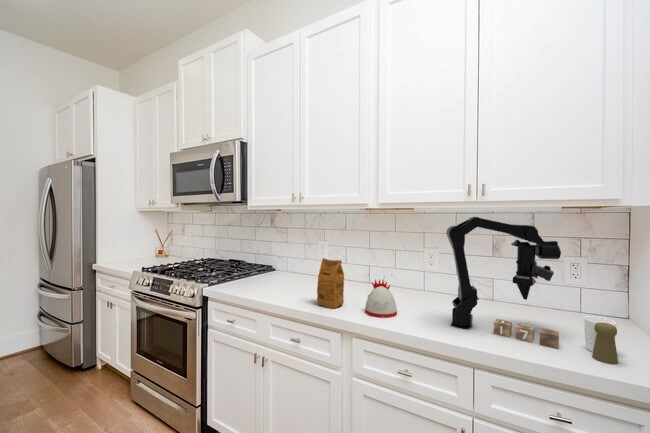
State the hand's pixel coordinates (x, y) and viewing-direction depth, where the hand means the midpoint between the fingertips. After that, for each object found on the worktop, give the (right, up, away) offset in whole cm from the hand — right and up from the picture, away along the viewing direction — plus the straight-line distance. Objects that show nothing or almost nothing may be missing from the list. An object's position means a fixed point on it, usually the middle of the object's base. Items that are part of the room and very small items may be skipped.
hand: (525, 299), depth 117 cm
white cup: (+14, -13, -16) cm, 25 cm away
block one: (-10, -12, -3) cm, 16 cm away
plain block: (0, -12, -12) cm, 17 cm away
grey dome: (-51, -12, +20) cm, 56 cm away
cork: (+10, -13, -22) cm, 27 cm away
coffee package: (-74, -11, +30) cm, 80 cm away
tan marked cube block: (-5, -12, -7) cm, 15 cm away
